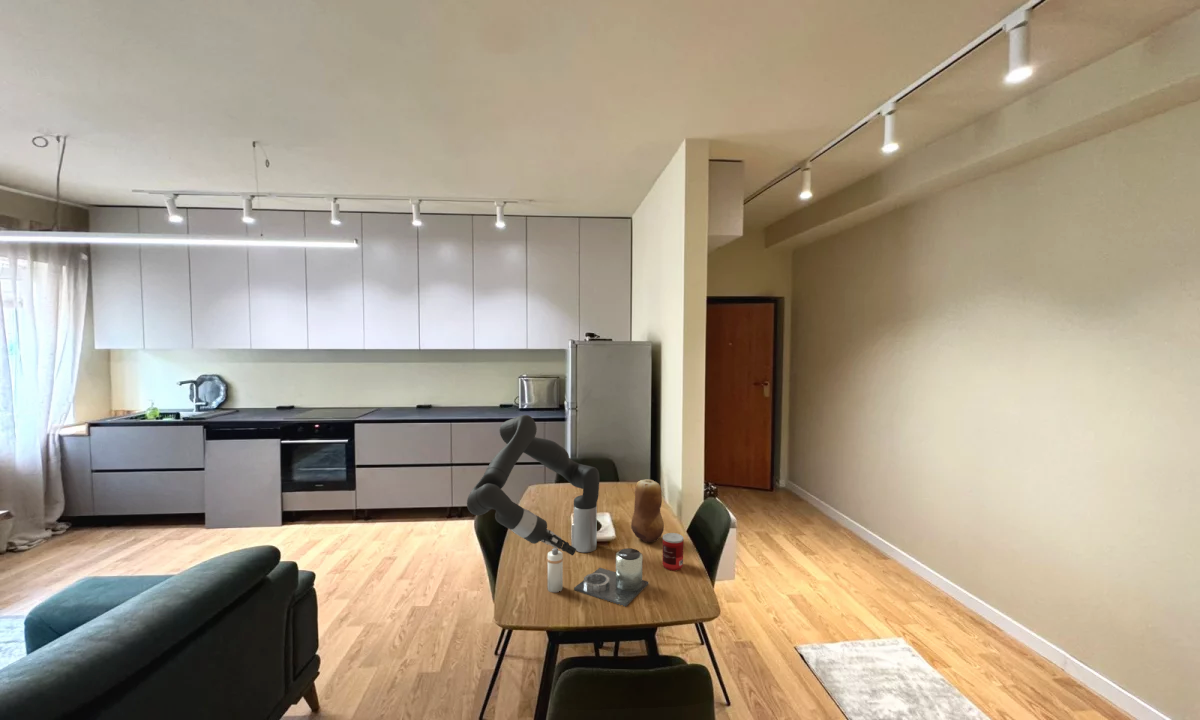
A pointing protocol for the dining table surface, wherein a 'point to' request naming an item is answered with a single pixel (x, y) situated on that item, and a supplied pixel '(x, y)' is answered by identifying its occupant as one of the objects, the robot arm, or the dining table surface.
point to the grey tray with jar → (617, 579)
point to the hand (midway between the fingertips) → (567, 549)
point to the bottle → (555, 570)
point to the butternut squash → (647, 511)
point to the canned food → (672, 551)
